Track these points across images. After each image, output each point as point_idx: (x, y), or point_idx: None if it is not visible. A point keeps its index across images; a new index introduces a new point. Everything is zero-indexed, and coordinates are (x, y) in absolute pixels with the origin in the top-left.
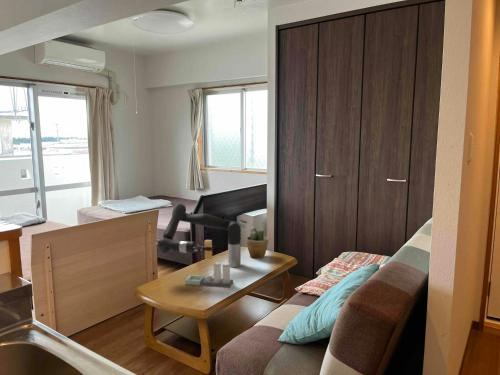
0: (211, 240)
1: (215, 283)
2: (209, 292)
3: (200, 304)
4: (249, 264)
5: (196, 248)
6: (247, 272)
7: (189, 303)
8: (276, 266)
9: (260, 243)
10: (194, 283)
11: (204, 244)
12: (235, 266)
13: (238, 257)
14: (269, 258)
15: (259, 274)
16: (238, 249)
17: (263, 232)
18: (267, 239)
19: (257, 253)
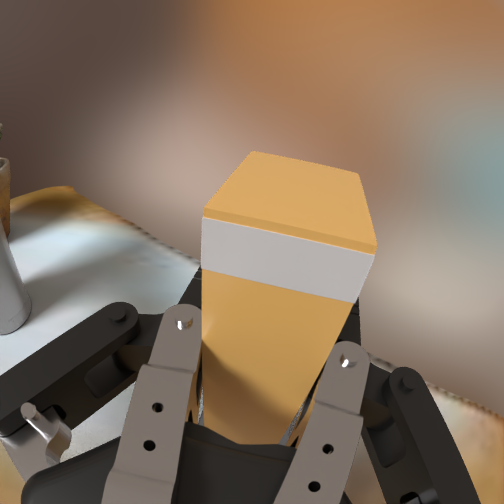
0: (273, 156)
1: (287, 431)
2: (368, 455)
3: (479, 450)
4: (30, 266)
5: (474, 500)
6: (108, 285)
7: (482, 493)
8: (95, 212)
9: (5, 176)
10: None
11: (341, 328)
12: (28, 310)
13: (15, 265)
14: (23, 217)
15: (148, 256)
16: (3, 228)
17: (1, 132)
18: (5, 158)
19: (2, 220)
